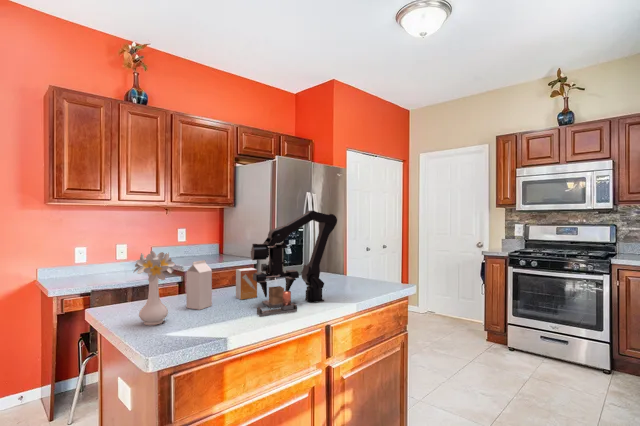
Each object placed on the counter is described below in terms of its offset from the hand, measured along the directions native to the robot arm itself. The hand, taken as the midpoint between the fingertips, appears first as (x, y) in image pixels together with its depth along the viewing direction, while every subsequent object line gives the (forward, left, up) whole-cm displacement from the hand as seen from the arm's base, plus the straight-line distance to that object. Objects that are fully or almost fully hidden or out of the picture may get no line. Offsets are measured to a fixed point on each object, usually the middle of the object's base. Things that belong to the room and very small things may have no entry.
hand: (276, 296), depth 152 cm
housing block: (0, 0, -2) cm, 2 cm away
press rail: (+4, +12, -4) cm, 13 cm away
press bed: (0, 0, -4) cm, 4 cm away
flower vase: (+47, +4, -4) cm, 47 cm away
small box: (+8, -19, -4) cm, 21 cm away
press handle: (0, +12, -2) cm, 12 cm away
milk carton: (+30, -11, -4) cm, 32 cm away
